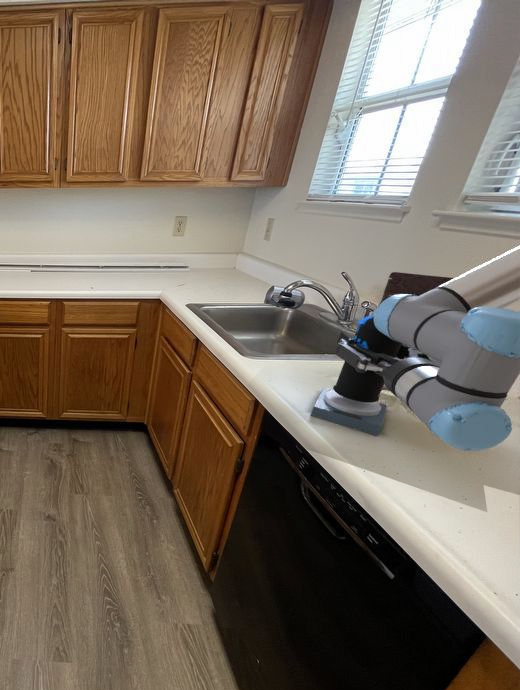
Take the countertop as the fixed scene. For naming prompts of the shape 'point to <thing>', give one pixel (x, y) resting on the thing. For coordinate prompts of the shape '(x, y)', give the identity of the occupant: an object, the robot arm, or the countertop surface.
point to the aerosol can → (369, 382)
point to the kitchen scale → (350, 412)
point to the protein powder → (411, 286)
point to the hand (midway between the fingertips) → (364, 339)
